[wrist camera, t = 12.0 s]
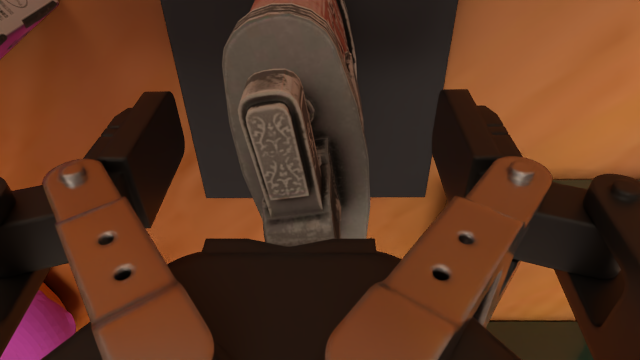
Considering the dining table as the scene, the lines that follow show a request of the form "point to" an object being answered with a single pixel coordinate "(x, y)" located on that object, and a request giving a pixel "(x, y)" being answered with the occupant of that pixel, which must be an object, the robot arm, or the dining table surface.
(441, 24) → the mat
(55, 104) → the dining table surface
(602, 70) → the dining table surface
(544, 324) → the frame
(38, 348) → the donut
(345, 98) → the lighter
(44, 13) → the candy bar box
